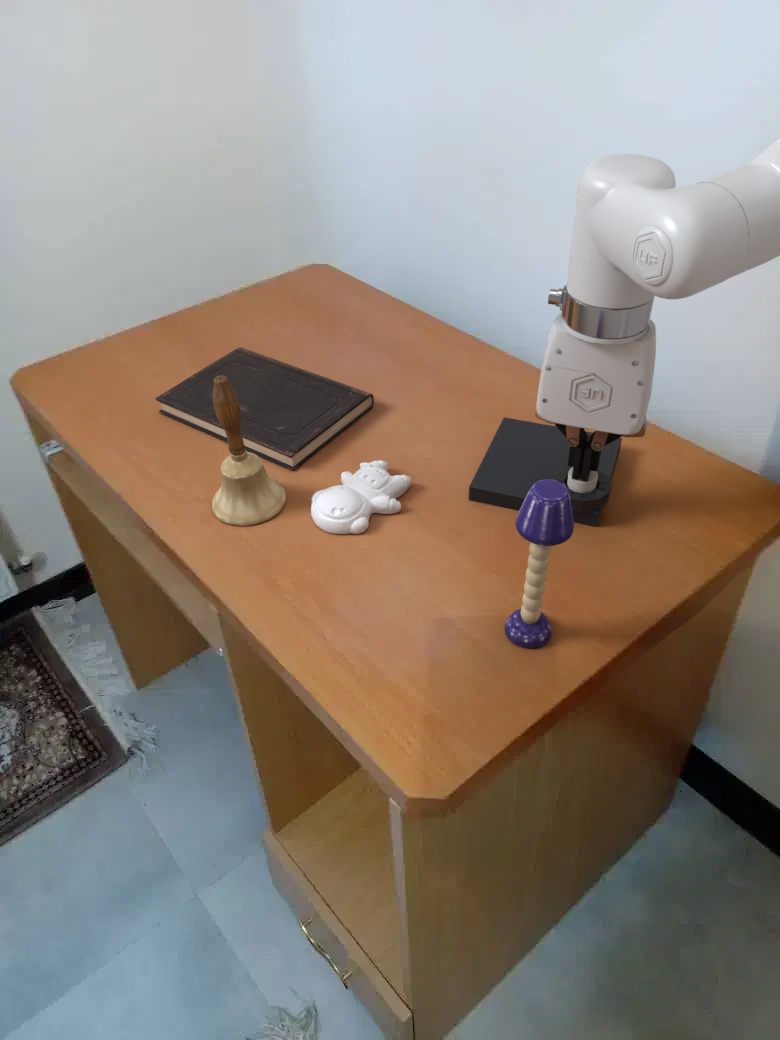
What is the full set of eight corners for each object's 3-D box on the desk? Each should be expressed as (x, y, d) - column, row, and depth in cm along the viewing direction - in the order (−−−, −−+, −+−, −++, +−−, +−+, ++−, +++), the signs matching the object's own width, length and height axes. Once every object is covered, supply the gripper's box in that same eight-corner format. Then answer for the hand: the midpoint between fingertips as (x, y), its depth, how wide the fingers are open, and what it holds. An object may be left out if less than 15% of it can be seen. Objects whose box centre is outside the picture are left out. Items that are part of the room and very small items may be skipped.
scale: (623, 451, 92) (628, 426, 90) (600, 530, 82) (605, 505, 80) (502, 429, 96) (504, 405, 94) (467, 502, 86) (468, 477, 84)
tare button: (598, 479, 83) (600, 467, 82) (593, 496, 81) (595, 485, 80) (570, 474, 84) (571, 462, 83) (564, 490, 82) (565, 479, 81)
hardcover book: (293, 471, 92) (290, 455, 90) (159, 413, 102) (155, 398, 101) (374, 406, 101) (373, 391, 100) (244, 359, 112) (241, 344, 110)
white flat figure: (427, 497, 87) (426, 476, 85) (339, 546, 82) (336, 525, 80) (378, 461, 93) (377, 440, 91) (293, 505, 87) (289, 484, 85)
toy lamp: (530, 603, 75) (546, 463, 64) (568, 631, 72) (591, 490, 61) (494, 629, 73) (504, 488, 62) (532, 659, 70) (549, 517, 59)
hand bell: (249, 536, 84) (221, 409, 73) (196, 508, 88) (162, 384, 77) (301, 495, 89) (282, 370, 78) (249, 469, 92) (223, 348, 82)
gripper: (513, 316, 69) (502, 479, 82) (691, 342, 65) (651, 510, 77) (534, 280, 75) (520, 439, 87) (699, 301, 70) (661, 465, 82)
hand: (582, 472), depth 82 cm, fingers closed
